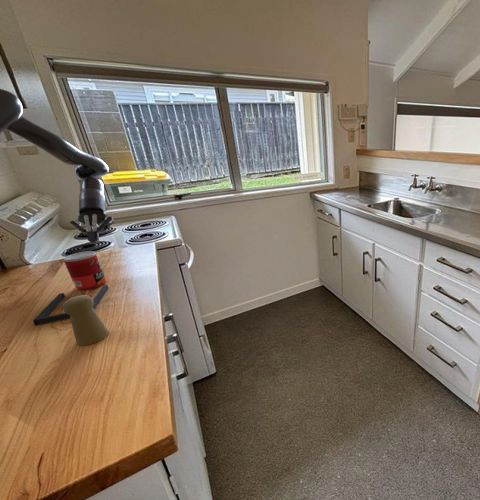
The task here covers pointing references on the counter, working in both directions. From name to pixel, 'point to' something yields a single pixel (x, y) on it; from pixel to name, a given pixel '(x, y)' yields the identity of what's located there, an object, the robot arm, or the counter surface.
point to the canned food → (85, 270)
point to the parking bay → (45, 318)
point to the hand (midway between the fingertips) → (93, 241)
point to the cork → (85, 320)
